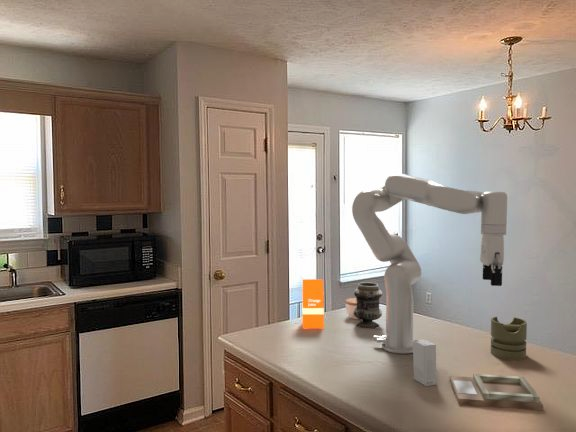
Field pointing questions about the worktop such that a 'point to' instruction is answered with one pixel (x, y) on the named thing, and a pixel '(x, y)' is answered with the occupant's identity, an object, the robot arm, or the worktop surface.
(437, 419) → the worktop surface
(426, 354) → the skincare box
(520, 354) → the piston
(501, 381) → the framed base plate
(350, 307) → the lidded jar
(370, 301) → the dark stone vase
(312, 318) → the orange juice
